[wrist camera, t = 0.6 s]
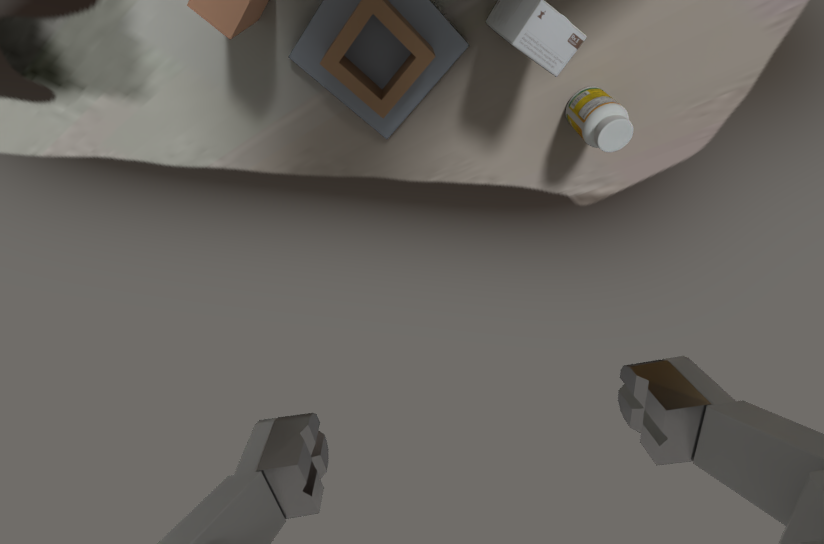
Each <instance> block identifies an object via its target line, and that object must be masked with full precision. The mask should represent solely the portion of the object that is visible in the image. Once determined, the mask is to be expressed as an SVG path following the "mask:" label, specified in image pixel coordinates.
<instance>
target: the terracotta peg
mask: <svg viewBox="0 0 824 544" xmlns="http://www.w3.org/2000/svg"><path fill="white" fill-rule="evenodd" d="M268 1H269V0H189V2H188V4H187V6H188V7H190V8H191V9H192V10H194V11H195V12H196V13H197V14H199V15H200V16H201V17H202V18H204V19H205V20H206V21H207V22H209V23H210V24H211V25H212V26H214V27H215V28H216V29H217V30H219V31H220V32H221V33H222V34H224V35H225V36H226V37H227V38H229V39H232V38H233V37H235V36H236V35H238V34H239V33H241V32H242V31H244V30H245V29H247V28H248V27H249V26H251V25H252V24H254V23H255V22H257V21H258V20H259V18H260V16H261V14H262V12H263V11H264V9H265V7H266V5H267V3H268Z"/></svg>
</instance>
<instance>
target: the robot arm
mask: <svg viewBox="0 0 824 544" xmlns="http://www.w3.org/2000/svg"><path fill="white" fill-rule="evenodd" d="M620 378H621V380H622V381H623V382H624V383H625V384H624V385H623V386H622V387H621V388H620V389H619V392H618V393H619V394H618V402H619V406H620V411H621V413H622V415H623V417H624V419H625V420H626V422H627V424H628V425H629V427H630V428H632V429H634V430H636V431H637V432H639V433H641V439H640V443H641V444H642V445H643V447H644V448H645V450H646V451H647V453H648V454H649V456H650V457H651V458H652V460H653V461H654V463H655V464H656V465H664V464H673V463H682V462H691V461H693V464H695V465H696V466H698V467H699V468H701V469H702V470H704V471H705V472H707V473H708V474H710V475H711V476H713V477H714V478H716V479H717V480H719V481H720V482H721V483H723V484H724V485H726V486H727V487H729V488H730V489H732V490H734V491H735V492H736V493H738V494H739V495H741V496H742V497H744V498H745V499H747V500H748V501H750V502H751V503H753V504H754V505H756V506H757V507H759V508H760V509H762V510H763V511H764V512H766V513H768V514H769V515H770V516H772V517H773V518H775V519H776V520H778V521H779V522H781V523H782V524H784V525H785V526H786V528H785V530H784V532H783V534H782V536H781V539H780V541H779V544H824V434H823V433H820V432H818V431H815V430H813V429H811V428H808V427H806V426H803V425H801V424H798V423H796V422H794V421H791V420H789V419H786V418H783V417H782V416H779V415H777V414H774V413H772V412H769V411H767V410H765V409H762V408H759V407H757V406H755V405H753V404H750V403H748V402H745V401H735V400H734V399H733V398H732V397H731V396H730V395H729V394H728V393H727V392H726V391H724V390H723V389H722V388H721V387H720V386H719V385H718V384H717V383H716V382H715V381H713V380H712V379H711V378H710V377H709V376H708V375H707V374H706V373H705V372H704V371H702V370H701V369H700V368H699V367H698V366H697V365H696V364H695V363H694V362H693V361H692V360H690V359H689V358H687V357H685V356H679V357H673V358H666V359H662V360H655V361H648V362H643V363H636V364H630V365H624V366H623V367H622V369H621V373H620ZM319 425H320V422H319V419H318V417H317V414H315V413H308V414H300V415H293V416H285V417H278V418H272V419H264V420H259V421H258V422H257V423H256V424H255V426H254V428H253V430H252V433H251V436H250V438H249V440H248V442H247V445H246V447H245V450H244V452H243V454H242V457H241V459H240V461H239V464H238V466H237V468H236V471H235V474H234V475H232V476H228V477H227V478H226V479H224V480H223V481H222V482H221V483H220V484H219V485H218V486H217V487H216V488H215V489H214V490H213V491H212V492H211V493H210V494H209V495H208V496H207V497H206V498H205V499H203V501H201V502H200V504H198V505H197V506H196V507H195V508H194V509H193V510H192V511H191V512H190V513H189V514H188V515H187V516H186V517H185V518H184V519H182V520H181V521H180V522H179V523H178V524H177V525H176V526H175V527H174V528H173V529H172V530H171V531H170V532H169V533H168V534H167V535H166V536H165V537H164V538H163V539H162V540H160V541H159V542H158V543H157V544H271V542H272V541H273V539H274V538H275V536H276V535H277V534H278V532H279V531H280V529H281V528H282V526H283V525H284V524H285V522H286V520H285V519H289V518H295V517H301V516H307V515H312V514H318V513H319V511H320V505H321V500H322V495H323V489H324V487H323V485H322V482H321V478H322V477H323V475H324V474H325V473H326V472H327V466H328V445H327V440H326V437H325V435H324V434H323V433H321V432H320V431H318V430H319Z"/></svg>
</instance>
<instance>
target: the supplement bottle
mask: <svg viewBox="0 0 824 544" xmlns="http://www.w3.org/2000/svg"><path fill="white" fill-rule="evenodd" d="M566 118H567V120H568V122H569V123H570V125H571V126H572V127H573V128H574V129H575V130H576V132H577V133H578V134H579V135H580V136H581V137H582V138H583V140H584V141H585V142H586V143H587V144H588V145H590V146H592V147H595V148H600V149H601V150H602V151H605V152H614V151H617V150H619V149H621V148H623V147H624V146H625V145H626V144H627V143H628V142H629V141H630V139H631V137H632V135H633V125H632V123H631V122H630V121H629V116H628V113H627V111H626V109H625V108H624V107H623V106H622V105H620V104H619V103H618V102H617V101H615V100H614V99H613V98H612V97H610V96H609V95H608V94H607V93H605V92H604V91H603V90H601V89H600V88H598V87H586V88H583V89H581V90H580V91H578V92H577V93H576V94H574V95H573V96H572V98H571V99H570V101H569V102H568V104H567V107H566Z"/></svg>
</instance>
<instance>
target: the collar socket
mask: <svg viewBox="0 0 824 544" xmlns="http://www.w3.org/2000/svg"><path fill="white" fill-rule="evenodd" d="M468 46H469V45H468V43H467V42H466V41H465V40H464V38H463V37H462V36H461V35H460V34H459V33H458V32H457V31H456V29H455V28H454V27H453V26H452V25H451V24H450V23H449V21H448V20H447V19H446V18H445V17H444V16H443V15H442V13H441V12H440V11H439V10H438V9H437V8H436V7H435V5H434V4H433V3H432V2H431V1H430V0H323V2H322V3H321V5H320V7H319V8H318V10H317V11H316V13H315V15H314V16H313V18H312V20H311V21H310V23H309V24H308V26H307V28H306V29H305V31H304V32H303V34H302V36H301V37H300V39H299V41H298V42H297V44H296V45H295V47H294V49H293V50H292V52H291V54H290V55H289V58H290V59H291V60H292V61H294V62H295V63H296V64H297V65H298V66H300V67H301V68H302V69H303V70H304V71H306V72H307V73H308V74H309V75H310V76H312V77H313V78H314V79H315V80H316V81H318V82H319V83H320V84H321V85H322V86H324V87H325V88H326V89H327V90H328V91H329V92H331V93H332V94H333V95H334V96H335V97H337V98H338V99H339V100H340V101H341V102H343V103H344V104H345V105H346V106H347V107H349V108H350V109H351V110H352V111H353V112H355V113H356V114H357V115H358V116H359V117H361V118H362V119H363V120H364V121H365V122H367V123H368V124H369V125H370V126H371V127H373V128H374V129H375V130H376V131H377V132H379V133H380V134H381V135H382V136H383V137H385V138H386V139H388V138H389V137H390V135H391V134H392V133H393V132H394V131H395V130H396V129H397V127H398V126H399V125H400V124H401V123H402V122H403V121H404V119H405V118H406V117H407V116H408V115H409V114H410V113H411V111H412V110H413V109H414V108H415V107H416V106H417V105H418V103H419V102H420V101H421V100H422V99H423V98H424V97H425V95H426V94H427V93H428V92H429V91H430V90H431V89H432V87H433V86H434V85H435V84H436V83H437V82H438V81H439V79H440V78H441V77H442V76H443V75H444V74H445V73H446V71H447V70H448V69H449V68H450V67H451V66H452V65H453V63H454V62H455V61H456V60H457V59H458V58H459V57H460V55H461V54H462V53H463V52H464V51H465V50H466V49H467V47H468Z"/></svg>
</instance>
